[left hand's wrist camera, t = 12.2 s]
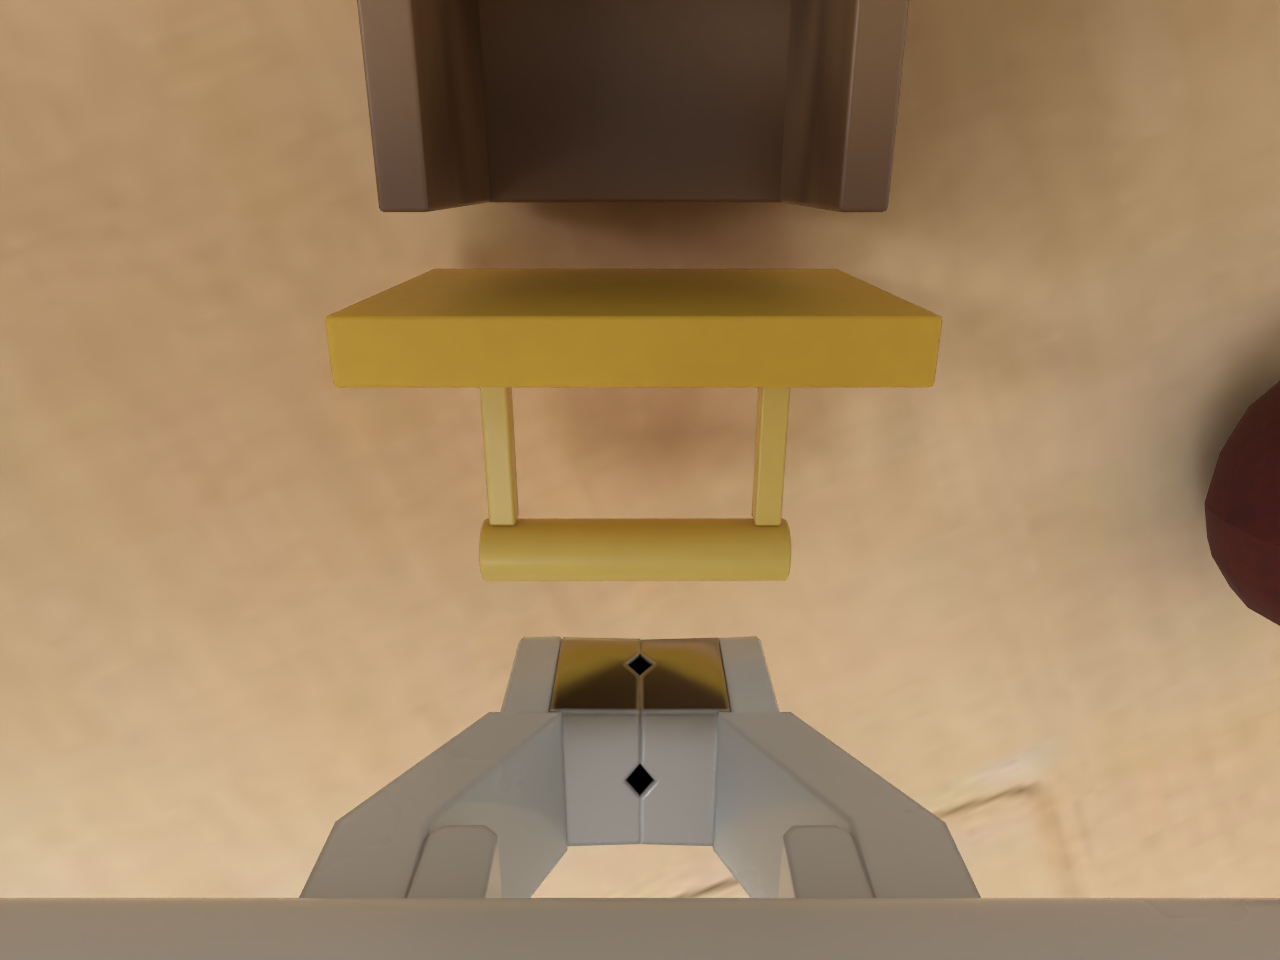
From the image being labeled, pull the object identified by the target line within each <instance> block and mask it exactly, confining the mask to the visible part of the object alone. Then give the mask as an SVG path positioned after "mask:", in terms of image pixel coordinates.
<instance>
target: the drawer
mask: <svg viewBox="0 0 1280 960" xmlns="http://www.w3.org/2000/svg"><path fill="white" fill-rule="evenodd" d="M357 3H358V13H359V22H360V32H361V41H362V50H363V60H364V69H365V79H366V88H367V97H368V107H369V116H370V126H371V135H372V144H373V154H374V163H375V173H376V182H377V192H378V201H379V208H380V210H381V211H383V212H429V211H435V210H442V209H448V208H455V207H461V206H468V205H474V204H481V203H487V202H783V203H789V204H795V205H802V206H808V207H814V208H820V209H826V210H833V211H839V212H883V211H886V209H887V207H888V200H889V190H890V180H891V171H892V161H893V151H894V141H895V131H896V121H897V112H898V102H899V92H900V82H901V72H902V62H903V53H904V43H905V33H906V23H907V13H908V4H909V0H357ZM325 324H326V331H327V338H328V346H329V353H330V361H331V368H332V376H333V382H334V385H335V386H337V387H480V396H481V410H482V424H483V438H484V452H485V467H486V481H487V495H488V509H489V519H486V520H484V522H483V525H482V528H481V533H480V542H479V562H480V570H481V574H482V577H483V579H484V580H486V581H785V580H787V578H788V575H789V572H790V565H791V539H790V531H789V527H788V524H787V521H786V520H785V519H781V515H782V500H783V485H784V470H785V455H786V440H787V425H788V410H789V395H790V387H930V386H933V384H934V380H935V372H936V365H937V357H938V349H939V342H940V334H941V326H942V318H941V316H938V315H936V314H934V313H932V312H930V311H927V310H925V309H923V308H921V307H919V306H916V305H914V304H912V303H910V302H908V301H905V300H903V299H901V298H899V297H897V296H894V295H892V294H890V293H888V292H886V291H883V290H881V289H879V288H877V287H874V286H872V285H870V284H868V283H866V282H863V281H861V280H859V279H857V278H855V277H852V276H850V275H848V274H846V273H844V272H841V271H839V270H837V269H433V270H431V271H429V272H427V273H424V274H422V275H420V276H417V277H415V278H413V279H411V280H408V281H406V282H404V283H402V284H399V285H397V286H395V287H392V288H390V289H388V290H386V291H383V292H381V293H379V294H377V295H374V296H372V297H370V298H367V299H365V300H363V301H361V302H358V303H356V304H354V305H352V306H349V307H347V308H345V309H343V310H340V311H338V312H336V313H333V314H331V315H329V316H327V317H326V319H325ZM512 387H758V405H757V424H756V443H755V462H754V481H753V500H752V517H753V519H517V518H518V515H519V511H518V494H517V476H516V458H515V440H514V423H513V405H512Z"/></svg>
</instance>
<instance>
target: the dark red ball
mask: <svg viewBox="0 0 1280 960" xmlns="http://www.w3.org/2000/svg"><path fill="white" fill-rule="evenodd" d="M1205 514H1206V527H1207V538H1208V542H1209V546H1210V550H1211V554H1212V557H1213V558H1214V560H1215V562H1216V564H1217V565H1218V567H1219V569H1220V570H1221V572H1222V574H1223V576H1224V577H1225V579H1226V581H1227V582H1228V584H1229V586H1230V587H1231V588H1232V590H1233V591H1234V592H1235V593H1236V594H1237V595H1238V597H1239V598H1240V599H1241V600H1242V601H1243V602H1244V604H1245V605H1246V606H1247V607H1248V608H1250V609H1251V610H1253V611H1255V612H1257V613H1258V614H1260V615H1262V616H1264V617H1265V618H1267V619H1269V620H1271V621H1272V622H1274V623H1276V624H1278V625H1279V626H1280V381H1279V382H1278V383H1277V384H1276V385H1275V386H1273V387H1272V388H1271V389H1270V390H1269V391H1267V392H1266V393H1265V394H1264V395H1263V396H1261V397H1260V398H1259V399H1258V400H1256V401H1255V402H1254V403H1253V404H1252V405H1250V406H1249V408H1248V409H1247V411H1246V412H1245V414H1244V416H1243V417H1242V419H1241V420H1240V422H1239V424H1238V425H1237V427H1236V428H1235V430H1234V432H1233V433H1232V435H1231V436H1230V438H1229V440H1228V441H1227V443H1226V444H1225V446H1224V448H1223V449H1222V451H1221V452H1220V455H1219V458H1218V462H1217V465H1216V468H1215V471H1214V475H1213V478H1212V481H1211V484H1210V488H1209V491H1208V494H1207V497H1206V500H1205Z"/></svg>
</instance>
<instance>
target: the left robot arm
mask: <svg viewBox="0 0 1280 960" xmlns="http://www.w3.org/2000/svg"><path fill="white" fill-rule="evenodd" d="M619 844H659V845H695V846H713V850H714V851H715V853H716V854H717V855H718V857H719V858H720V859H721V860H722V862H723V863H724V864H725V866H726V867H727V868H728V869H729V871H730V872H731V873H732V874H733V876H734V877H735V878H736V880H737V881H738V882H739V883H740V885H741V886H742V887H743V889H744V890H745V891H746V892H747V894H748V895H749V896H750V898H530V897H531V896H532V894H533V893H534V892H535V890H536V889H537V888H538V887H539V885H540V884H541V883H542V882H543V880H544V879H545V878H546V876H547V875H548V874H549V873H550V871H551V870H552V869H553V868H554V866H555V865H556V864H557V862H558V861H559V860H560V859H561V857H562V856H563V855H564V854H565V852H566V851H567V846H584V845H619ZM0 960H1280V898H981V897H980V895H979V893H978V891H977V889H976V886H975V884H974V882H973V880H972V878H971V876H970V874H969V872H968V870H967V867H966V865H965V863H964V861H963V859H962V857H961V855H960V853H959V851H958V849H957V846H956V844H955V842H954V840H953V838H952V836H951V834H950V832H949V830H948V828H947V825H946V823H945V822H943V821H942V820H940V819H939V818H938V817H936V816H935V815H933V814H932V813H931V812H929V811H928V810H926V809H925V808H924V807H922V806H921V805H919V804H918V803H917V802H915V801H914V800H913V799H911V798H910V797H908V796H907V795H906V794H904V793H903V792H901V791H900V790H899V789H897V788H896V787H894V786H893V785H892V784H890V783H889V782H887V781H886V780H885V779H883V778H882V777H880V776H879V775H878V774H876V773H875V772H873V771H872V770H871V769H869V768H868V767H866V766H865V765H864V764H862V763H861V762H860V761H858V760H857V759H855V758H854V757H853V756H851V755H850V754H848V753H847V752H846V751H844V750H843V749H841V748H840V747H839V746H837V745H836V744H834V743H833V742H832V741H830V740H829V739H827V738H826V737H825V736H823V735H822V734H820V733H819V732H818V731H816V730H815V729H813V728H812V727H811V726H809V725H808V724H807V723H805V722H804V721H802V720H801V719H800V718H798V717H797V716H795V715H794V714H793V713H791V712H779V708H778V705H777V701H776V697H775V693H774V690H773V686H772V682H771V679H770V675H769V671H768V667H767V664H766V660H765V656H764V653H763V649H762V645H761V641H760V639H758V638H757V637H732V638H692V639H652V640H640V639H619V638H567V637H563V639H561V638H560V637H524V638H523V639H522V640H521V641H520V642H519V644H518V648H517V652H516V655H515V659H514V663H513V667H512V671H511V674H510V678H509V682H508V686H507V689H506V693H505V697H504V701H503V704H502V708H501V712H489V713H487V714H486V715H485V716H483V717H482V718H480V719H479V720H478V721H476V722H475V723H473V724H472V725H471V726H469V727H468V728H466V729H465V730H464V731H462V732H461V733H459V734H458V735H457V736H455V737H454V738H452V739H451V740H450V741H448V742H447V743H445V744H444V745H443V746H441V747H440V748H438V749H437V750H436V751H434V752H433V753H431V754H430V755H429V756H427V757H426V758H424V759H423V760H422V761H420V762H419V763H417V764H416V765H415V766H413V767H412V768H410V769H409V770H408V771H406V772H405V773H403V774H402V775H401V776H399V777H398V778H396V779H395V780H394V781H392V782H391V783H389V784H388V785H387V786H385V787H384V788H382V789H381V790H380V791H378V792H377V793H375V794H374V795H373V796H371V797H370V798H368V799H367V800H366V801H364V802H363V803H361V804H360V805H359V806H357V807H356V808H354V809H353V810H352V811H350V812H349V813H347V814H346V815H345V816H343V817H342V818H340V819H339V820H338V821H336V822H335V824H334V826H333V828H332V830H331V833H330V835H329V837H328V839H327V841H326V843H325V845H324V847H323V849H322V851H321V853H320V855H319V857H318V860H317V862H316V864H315V866H314V868H313V870H312V872H311V874H310V876H309V878H308V880H307V882H306V884H305V886H304V889H303V891H302V893H301V895H300V897H299V898H0Z"/></svg>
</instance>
